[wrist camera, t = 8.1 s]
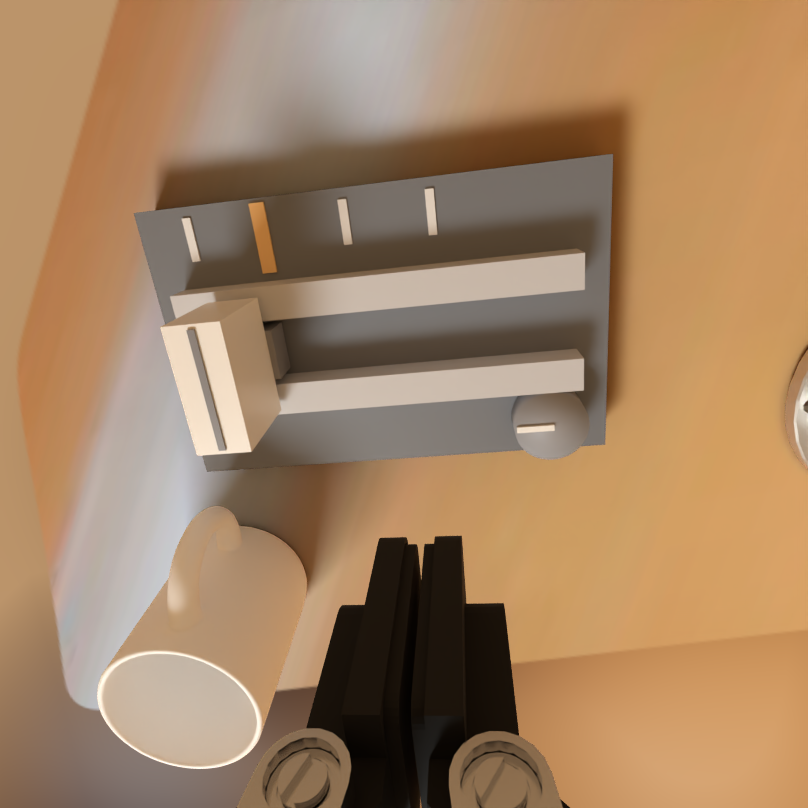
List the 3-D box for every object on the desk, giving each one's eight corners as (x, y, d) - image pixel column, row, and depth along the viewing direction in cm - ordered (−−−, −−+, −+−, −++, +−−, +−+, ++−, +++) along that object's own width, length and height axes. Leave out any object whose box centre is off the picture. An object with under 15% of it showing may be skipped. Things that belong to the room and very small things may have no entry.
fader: (275, 289, 26) (226, 321, 21) (296, 396, 29) (257, 452, 23) (216, 295, 27) (151, 328, 21) (241, 400, 29) (189, 457, 23)
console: (600, 155, 25) (625, 151, 22) (595, 428, 30) (614, 460, 27) (154, 211, 28) (113, 215, 24) (220, 455, 33) (194, 487, 29)
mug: (171, 465, 33) (62, 580, 24) (304, 473, 33) (247, 592, 23) (196, 616, 38) (113, 762, 28) (313, 624, 38) (268, 776, 28)
